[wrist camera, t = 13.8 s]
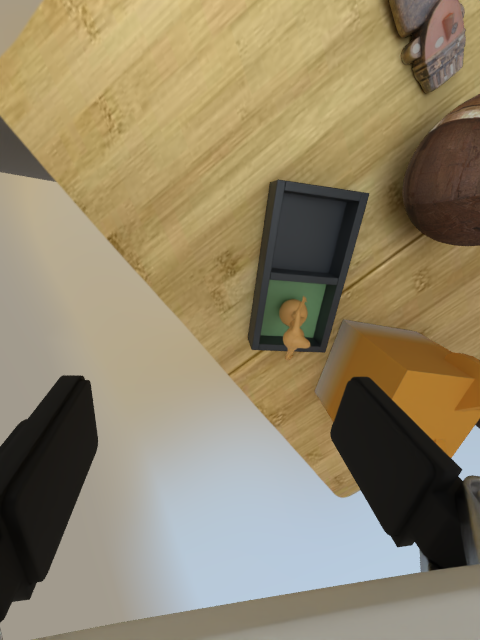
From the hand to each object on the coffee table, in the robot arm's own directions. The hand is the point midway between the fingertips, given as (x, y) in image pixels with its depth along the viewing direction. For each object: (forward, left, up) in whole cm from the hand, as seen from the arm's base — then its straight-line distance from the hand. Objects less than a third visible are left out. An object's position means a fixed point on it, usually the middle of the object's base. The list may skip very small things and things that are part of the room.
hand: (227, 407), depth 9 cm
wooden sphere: (+29, +13, -28) cm, 43 cm away
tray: (+13, -1, -28) cm, 31 cm away
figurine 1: (+11, -6, -28) cm, 30 cm away
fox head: (+32, -16, -28) cm, 45 cm away
